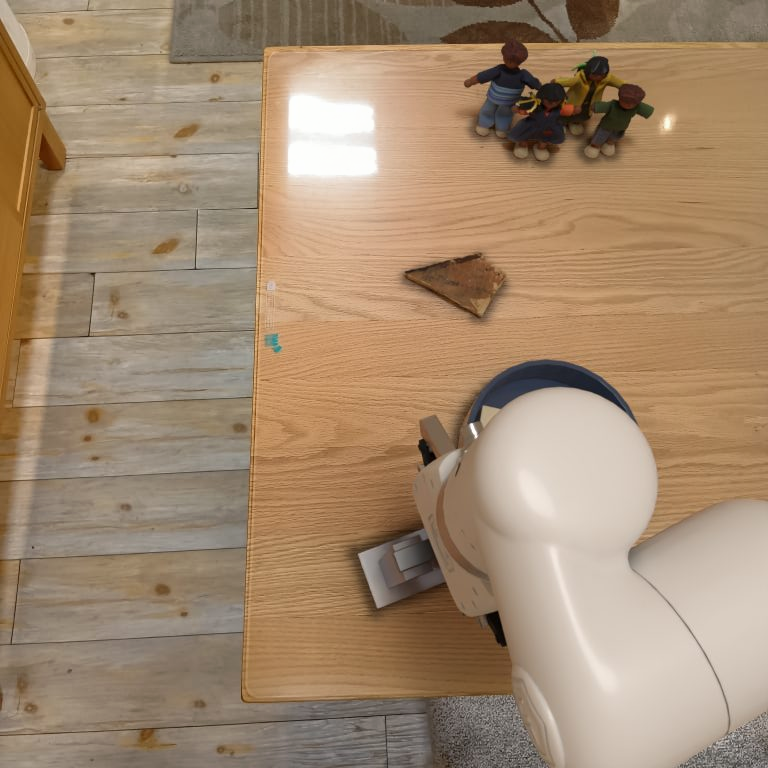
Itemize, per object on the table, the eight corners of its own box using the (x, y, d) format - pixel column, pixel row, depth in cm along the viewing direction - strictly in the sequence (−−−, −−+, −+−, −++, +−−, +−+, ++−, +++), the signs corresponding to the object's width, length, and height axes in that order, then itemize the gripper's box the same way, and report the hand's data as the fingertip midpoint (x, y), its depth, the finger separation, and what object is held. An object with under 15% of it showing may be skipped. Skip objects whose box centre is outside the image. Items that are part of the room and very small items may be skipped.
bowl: (652, 504, 77) (675, 497, 72) (498, 566, 74) (510, 563, 69) (578, 354, 82) (594, 337, 77) (432, 406, 79) (438, 392, 74)
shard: (402, 277, 84) (404, 270, 82) (433, 232, 86) (435, 224, 85) (479, 321, 83) (482, 315, 81) (508, 274, 85) (512, 267, 83)
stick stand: (488, 564, 74) (541, 548, 55) (376, 609, 72) (390, 609, 53) (467, 512, 76) (511, 479, 57) (356, 554, 73) (364, 535, 54)
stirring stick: (390, 553, 54) (392, 552, 53) (505, 509, 56) (509, 506, 54) (398, 573, 54) (400, 572, 52) (513, 528, 55) (517, 525, 54)
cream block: (498, 442, 78) (505, 436, 75) (473, 437, 78) (478, 430, 75) (502, 417, 79) (509, 410, 76) (477, 412, 79) (482, 404, 76)
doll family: (465, 170, 90) (486, 98, 77) (452, 114, 92) (471, 35, 80) (631, 155, 92) (678, 82, 79) (614, 100, 95) (657, 21, 82)
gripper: (386, 395, 40) (372, 459, 56) (507, 698, 35) (454, 672, 51) (502, 354, 41) (456, 428, 57) (635, 642, 36) (543, 634, 52)
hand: (455, 543), depth 54 cm, fingers open, 9 cm apart
